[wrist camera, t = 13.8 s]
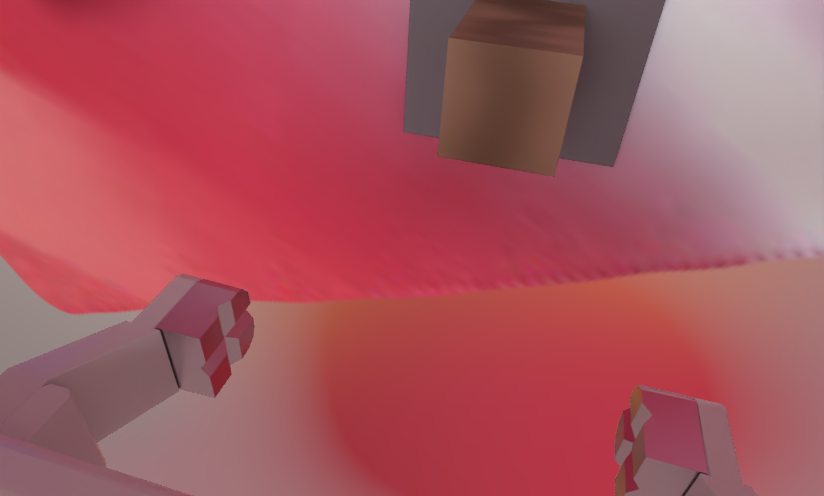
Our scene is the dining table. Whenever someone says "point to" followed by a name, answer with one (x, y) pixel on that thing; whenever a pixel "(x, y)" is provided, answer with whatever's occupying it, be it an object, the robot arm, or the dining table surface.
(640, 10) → the mat
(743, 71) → the dining table surface
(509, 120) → the block
